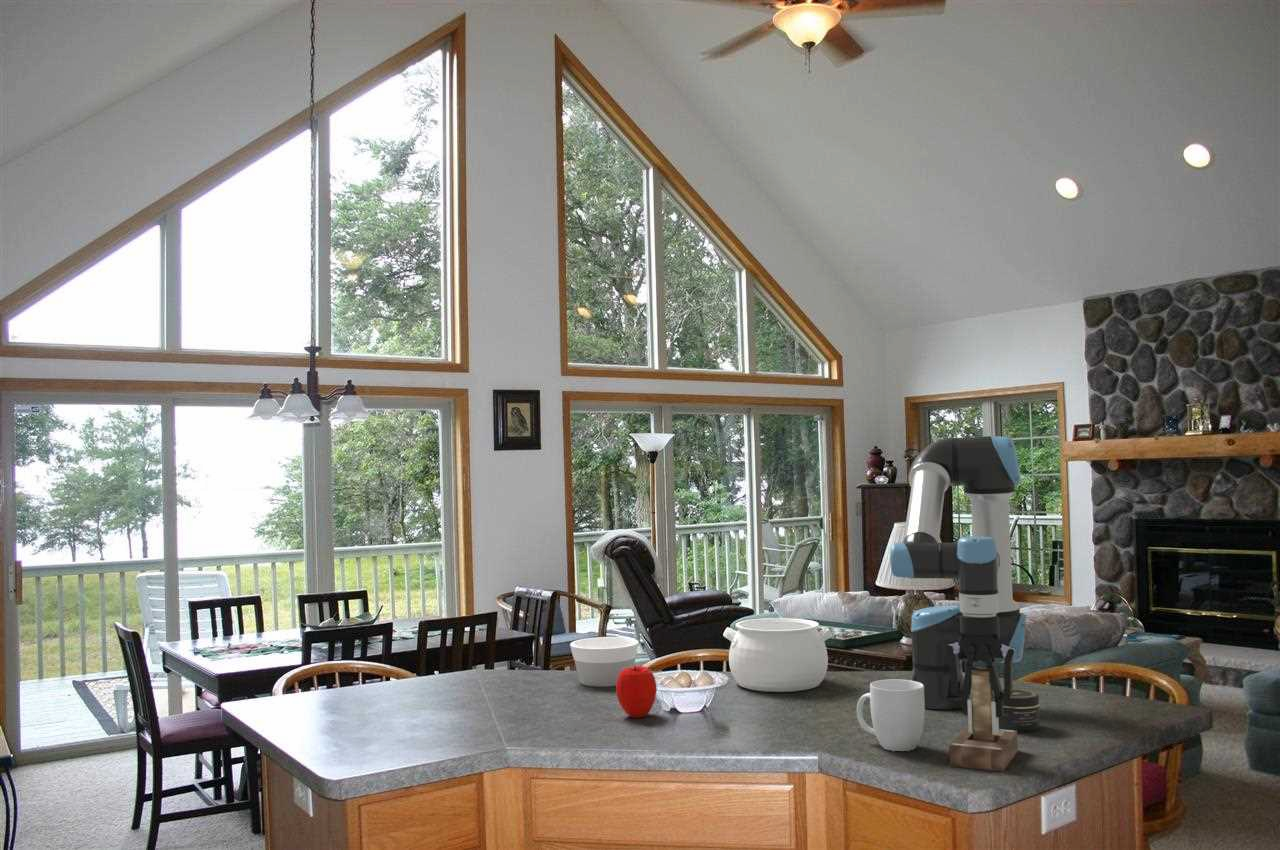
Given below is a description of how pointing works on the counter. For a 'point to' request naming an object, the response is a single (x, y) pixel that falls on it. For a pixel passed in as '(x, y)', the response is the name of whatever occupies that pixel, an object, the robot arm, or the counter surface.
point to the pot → (778, 654)
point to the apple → (636, 690)
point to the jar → (1020, 711)
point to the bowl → (603, 659)
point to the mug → (895, 713)
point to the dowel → (981, 705)
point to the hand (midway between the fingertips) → (983, 731)
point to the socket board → (983, 751)
